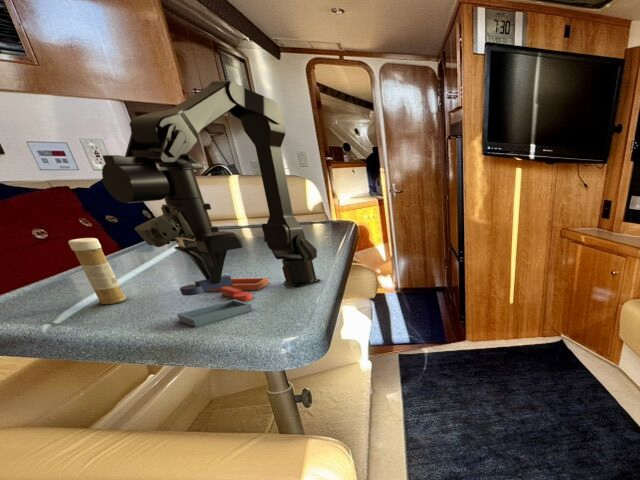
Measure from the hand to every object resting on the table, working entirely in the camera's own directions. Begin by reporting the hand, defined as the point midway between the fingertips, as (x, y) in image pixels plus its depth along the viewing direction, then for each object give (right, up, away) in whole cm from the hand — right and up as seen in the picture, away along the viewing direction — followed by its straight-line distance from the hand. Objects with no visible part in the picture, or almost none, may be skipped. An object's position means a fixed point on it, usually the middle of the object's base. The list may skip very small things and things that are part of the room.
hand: (214, 282), depth 80 cm
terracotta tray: (-9, +4, +20) cm, 22 cm away
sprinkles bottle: (-29, -2, +9) cm, 31 cm away
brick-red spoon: (-4, 0, +13) cm, 13 cm away
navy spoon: (-1, -2, -1) cm, 2 cm away
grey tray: (-1, -6, +2) cm, 7 cm away
